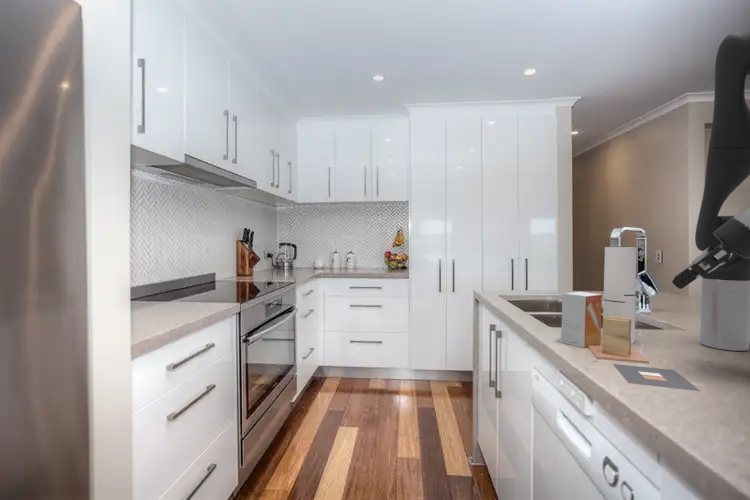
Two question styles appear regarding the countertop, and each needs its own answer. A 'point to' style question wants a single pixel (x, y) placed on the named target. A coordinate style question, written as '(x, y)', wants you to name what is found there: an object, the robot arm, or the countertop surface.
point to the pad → (632, 357)
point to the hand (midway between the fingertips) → (676, 283)
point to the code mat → (654, 377)
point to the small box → (581, 319)
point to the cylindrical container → (620, 284)
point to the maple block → (616, 336)
